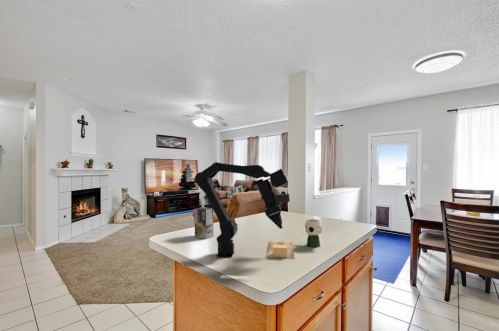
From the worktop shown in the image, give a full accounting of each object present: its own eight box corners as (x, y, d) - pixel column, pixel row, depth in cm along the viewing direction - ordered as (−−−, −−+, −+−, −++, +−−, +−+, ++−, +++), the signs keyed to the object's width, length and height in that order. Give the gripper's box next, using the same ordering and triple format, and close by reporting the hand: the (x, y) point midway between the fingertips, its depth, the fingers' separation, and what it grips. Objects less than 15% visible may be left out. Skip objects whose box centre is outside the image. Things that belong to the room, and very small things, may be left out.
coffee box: (213, 236, 129) (213, 208, 129) (206, 239, 123) (206, 209, 124) (202, 234, 133) (202, 206, 134) (194, 236, 128) (194, 208, 129)
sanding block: (272, 257, 94) (272, 247, 94) (273, 253, 98) (273, 244, 98) (287, 257, 93) (287, 248, 93) (287, 254, 97) (286, 245, 97)
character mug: (300, 245, 112) (299, 219, 113) (310, 243, 116) (310, 217, 116) (316, 252, 103) (316, 223, 103) (327, 249, 106) (327, 221, 107)
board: (265, 260, 94) (265, 257, 94) (268, 243, 115) (268, 241, 115) (294, 261, 92) (294, 259, 92) (292, 244, 114) (292, 242, 114)
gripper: (284, 185, 88) (300, 223, 86) (283, 183, 106) (297, 215, 105) (257, 196, 89) (273, 234, 87) (261, 193, 107) (275, 223, 106)
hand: (281, 225), depth 96 cm, fingers open, 9 cm apart
